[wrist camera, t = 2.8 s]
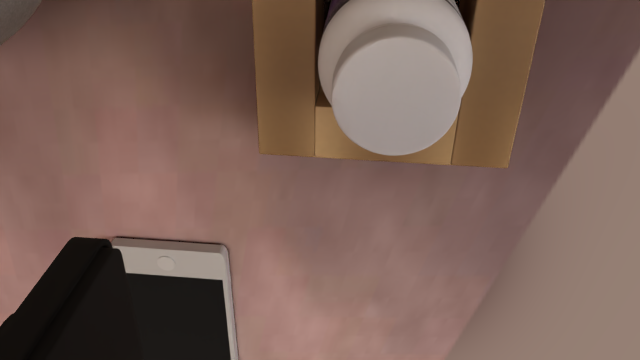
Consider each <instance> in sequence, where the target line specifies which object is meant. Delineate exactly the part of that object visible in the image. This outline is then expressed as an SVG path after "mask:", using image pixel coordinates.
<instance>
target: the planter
mask: <svg viewBox="0 0 640 360" xmlns="http://www.w3.org/2000/svg"><path fill="white" fill-rule="evenodd" d="M41 1H42V0H0V45H2V44H3V43H4V42H5V41H7V40H8V39H9V38H10V37H11V36H13V35H14V34H15V33H16V32H17V31H18V30H19V29H20V28H21V27H22V26H23V25H24V24H25V23H26V22H27V21H28V20H29V18H30V17H31V16H32V15H33V13H34V12H35V11H36V9H37V8H38V6H39V5H40V3H41Z"/></svg>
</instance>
